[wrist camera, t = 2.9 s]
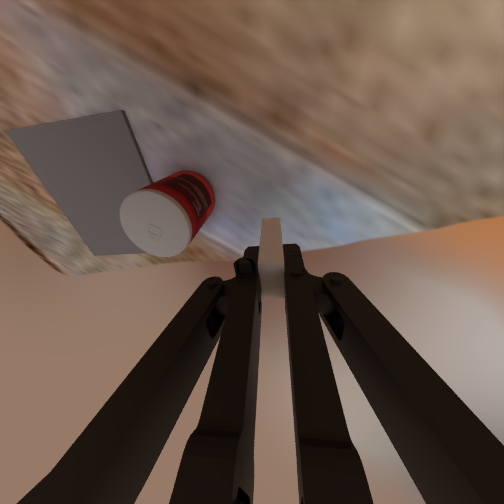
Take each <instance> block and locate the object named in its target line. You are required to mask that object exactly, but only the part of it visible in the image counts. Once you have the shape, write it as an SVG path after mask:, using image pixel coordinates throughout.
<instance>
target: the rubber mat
mask: <svg viewBox="0 0 504 504" xmlns="http://www.w3.org/2000/svg"><path fill="white" fill-rule="evenodd" d="M6 133H7V134H8V136H9V137H10V138H11V140H12V141H13V143H14V144H15V145H16V147H17V148H18V150H19V151H20V152H21V154H22V155H23V157H24V158H25V159H26V161H27V162H28V164H29V165H30V166H31V168H32V169H33V171H34V172H35V173H36V175H37V176H38V178H39V179H40V180H41V182H42V183H43V185H44V186H45V187H46V189H47V190H48V192H49V193H50V194H51V196H52V197H53V199H54V200H55V201H56V203H57V204H58V206H59V207H60V208H61V210H62V211H63V213H64V214H65V215H66V217H67V218H68V220H69V221H70V222H71V224H72V225H73V227H74V228H75V229H76V231H77V232H78V234H79V235H80V236H81V238H82V239H83V241H84V242H85V243H86V245H87V246H88V248H89V249H90V250H91V252H92V253H93V255H94V256H96V255H115V254H134V253H147V252H145V251H143V250H142V249H140V248H139V247H138V246H136V245H135V244H134V243H133V242H132V241H131V240H130V239H129V237H128V236H127V235H126V233H125V231H124V230H123V227H122V225H121V222H120V207H121V204H122V202H123V201H124V199H125V198H126V197H127V196H129V195H130V194H131V193H133V192H135V191H137V190H139V189H141V188H143V187H145V186H148V185H150V184H152V183H153V182H152V180H151V177H150V175H149V172H148V170H147V167H146V165H145V162H144V160H143V157H142V155H141V152H140V150H139V147H138V144H137V142H136V139H135V137H134V134H133V132H132V129H131V127H130V124H129V122H128V119H127V117H126V114H125V112H124V111H122V110H120V111H114V112H109V113H103V114H97V115H92V116H86V117H80V118H75V119H69V120H63V121H58V122H52V123H46V124H41V125H35V126H29V127H24V128H18V129H12V130H7V131H6Z"/></svg>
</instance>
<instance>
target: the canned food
mask: <svg viewBox="0 0 504 504" xmlns="http://www.w3.org/2000/svg"><path fill="white" fill-rule="evenodd" d="M213 208H214V194H213V190H212V188H211V186H210V185H209V183H208V182H207V181H206V180H205V179H204V178H203V177H202V176H200V175H198V174H196V173H193V172H189V171H181V172H177V173H175V174H173V175H170V176H168V177H166V178H164V179H161V180H159V181H157V182H154V183H152V184H150V185H148V186H145V187H143V188H141V189H139V190H137V191H135V192H133V193H131V194H130V195H129V196H127V197H126V198H125V199H124V201H123V202H122V204H121V207H120V222H121V225H122V227H123V230H124V231H125V233H126V235H127V236H128V237H129V239H130V240H131V241H132V242H133V243H134V244H135V245H136V246H138V247H139V248H140V249H142V250H143V251H145V252H147V253H149V254H152V255H155V256H159V257H171V256H175V255H177V254H179V253H181V252H182V251H183V250H184V249H185V248H186V247H187V246H188V245H189V243H190V242H191V241H192V239H193V238H194V237H195V235H196V234H197V232H198V231H199V230H200V228H201V227H202V225H203V224H204V223H205V221H206V220H207V218H208V217H209V216H210V214H211V212H212V210H213Z"/></svg>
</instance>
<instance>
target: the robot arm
mask: <svg viewBox="0 0 504 504" xmlns="http://www.w3.org/2000/svg"><path fill="white" fill-rule="evenodd" d="M234 268H235V273H236V277H234V278H232V279H230V280H226V281H223V280H222V279H221V278H220V277H210V278H207V279H206V280H204V281H203V282H202V283H201V285H200V286H199V287H198V288H197V289H196V291H195V292H194V293H193V295H192V296H191V297H190V298H189V299H188V301H187V302H186V303H185V304H184V306H183V307H182V308H181V310H180V311H179V312H178V313H177V314H176V316H175V317H174V318H173V319H172V321H171V322H170V323H169V324H168V326H167V327H166V328H165V329H164V331H163V332H162V333H161V334H160V336H159V337H158V338H157V339H156V341H155V342H154V343H153V345H152V346H151V347H150V348H149V349H148V351H147V352H146V353H145V354H144V356H143V357H142V358H141V359H140V361H139V362H138V363H137V364H136V366H135V367H134V368H133V369H132V371H131V372H130V373H129V374H128V376H127V377H126V378H125V379H124V381H123V382H122V383H121V384H120V386H119V387H118V388H117V390H116V391H115V392H114V393H113V394H112V396H111V397H110V398H109V399H108V401H107V402H106V403H105V405H104V406H103V407H102V408H101V409H100V411H99V412H98V413H97V415H96V416H95V417H94V418H93V419H92V421H91V422H90V423H89V424H88V426H87V427H86V428H85V429H84V431H83V432H82V433H81V435H80V436H79V437H78V438H77V439H76V441H75V442H74V443H73V444H72V446H71V447H70V448H69V449H68V451H67V452H66V453H65V454H64V456H63V457H62V458H61V459H60V461H59V462H58V463H57V465H56V466H55V467H54V468H53V469H52V471H51V472H50V473H49V474H48V475H47V476H46V477H44V478H43V479H42V480H41V481H40V482H39V483H38V484H37V485H36V486H35V487H34V488H33V489H32V490H31V491H30V492H29V493H27V494H26V495H25V496H24V497H23V498H22V499H21V500H20V501H19V502H18V503H17V504H134V503H135V501H136V499H137V497H138V495H139V493H140V492H141V490H142V488H143V486H144V484H145V483H146V481H147V479H148V477H149V475H150V473H151V471H152V469H153V467H154V465H155V463H156V461H157V459H158V457H159V455H160V453H161V451H162V449H163V447H164V445H165V443H166V441H167V439H168V438H169V435H170V434H171V431H172V430H173V428H174V426H175V424H176V421H177V420H178V418H179V416H180V414H181V412H182V410H183V408H184V406H185V404H186V402H187V400H188V398H189V396H190V394H191V392H192V390H193V388H194V386H195V385H196V383H197V381H198V378H199V377H200V375H201V373H202V371H203V369H204V367H205V365H206V363H207V361H208V359H209V357H210V355H211V353H212V351H213V349H214V347H215V345H216V343H217V341H218V339H219V337H220V341H219V344H218V349H217V352H216V356H215V360H214V364H213V368H212V372H211V376H210V381H209V384H208V388H207V393H206V396H205V400H204V404H203V408H202V412H201V416H200V420H199V423H198V425H197V428H196V429H195V430H194V431H193V433H192V434H191V435H190V437H189V439H188V441H187V443H186V446H185V449H184V452H183V456H182V459H181V463H180V466H179V470H178V473H177V477H176V481H175V484H174V488H173V492H172V495H171V499H170V503H169V504H253V492H254V437H255V436H254V435H255V418H256V401H257V383H258V364H259V347H260V327H261V312H262V303H261V295H262V298H285V309H286V321H287V335H288V347H289V362H290V375H291V388H292V402H293V416H294V430H295V443H296V457H297V475H298V490H299V504H373V500H372V497H371V493H370V489H369V485H368V482H367V478H366V475H365V471H364V468H363V465H362V461H361V459H360V456H359V454H358V451H357V450H356V448H355V447H354V445H353V443H352V441H351V438H350V436H349V432H348V428H347V424H346V420H345V417H344V413H343V409H342V405H341V401H340V397H339V393H338V389H337V385H336V381H335V377H334V374H333V369H332V366H331V361H330V357H329V353H328V349H327V346H326V342H325V338H324V334H323V330H322V326H321V322H320V318H319V314H320V317H321V318H322V320H323V322H324V323H325V325H326V327H327V329H328V331H329V333H330V334H331V336H332V338H333V340H334V341H335V343H336V345H337V347H338V348H339V350H340V352H341V354H342V355H343V357H344V359H345V360H346V363H347V364H348V366H349V368H350V370H351V371H352V373H353V375H354V377H355V378H356V380H357V382H358V384H359V386H360V387H361V389H362V391H363V393H364V394H365V396H366V398H367V400H368V402H369V403H370V405H371V407H372V408H373V410H374V412H375V414H376V416H377V417H378V419H379V421H380V423H381V425H382V426H383V428H384V430H385V432H386V433H387V435H388V436H389V439H390V440H391V442H392V444H393V446H394V448H395V449H396V451H397V452H398V455H399V456H400V458H401V460H402V461H403V463H404V465H405V467H406V469H407V471H408V472H409V474H410V476H411V478H412V479H413V481H414V483H415V485H416V486H417V488H418V490H419V492H420V494H421V495H422V497H423V499H424V501H425V502H426V504H504V446H503V444H502V443H501V442H500V441H499V440H498V439H497V438H496V437H495V436H494V435H493V434H492V433H491V431H490V430H489V429H488V428H487V427H486V426H485V425H484V424H483V423H482V422H481V421H480V420H479V418H478V417H477V416H476V415H475V414H474V413H473V412H472V411H471V410H470V409H469V408H468V407H467V406H466V405H465V403H464V402H463V401H462V400H461V399H460V398H459V397H458V396H457V395H456V394H455V393H454V391H453V390H452V389H451V388H450V387H449V386H448V385H447V384H446V383H445V382H444V381H443V380H442V379H441V378H440V376H439V375H438V374H437V373H436V372H435V371H434V370H433V369H432V368H431V367H430V366H429V365H428V363H427V362H426V361H425V360H424V359H423V358H422V357H421V356H420V355H419V354H418V353H417V352H416V350H415V349H414V348H413V347H412V346H411V345H410V344H409V343H408V342H407V341H406V340H405V339H404V338H403V337H402V335H401V334H400V333H399V332H398V331H397V330H396V329H395V328H394V327H393V326H392V325H391V324H390V322H389V321H388V320H387V319H386V318H385V317H384V316H383V315H382V314H381V313H380V312H379V311H378V309H377V308H376V307H375V306H374V305H373V304H372V303H371V302H370V301H369V300H368V299H367V298H366V297H365V295H364V294H363V293H362V292H361V291H360V290H359V289H358V288H357V287H356V286H355V285H354V284H353V282H352V281H351V280H350V279H349V278H348V277H346V276H345V275H343V274H341V273H337V272H330V273H327V274H325V275H324V276H323V278H322V277H317V276H313V275H311V274H309V273H308V272H307V270H306V269H305V267H304V263H303V259H302V255H301V251H300V247H299V246H298V245H297V244H282V233H281V223H280V218H271V219H263V220H262V229H261V238H260V246H253V247H248V248H247V249H246V250H245V252H244V256H243V258H240V259H238V260H236V261H235V262H234ZM318 313H319V314H318ZM220 335H221V336H220Z"/></svg>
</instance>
